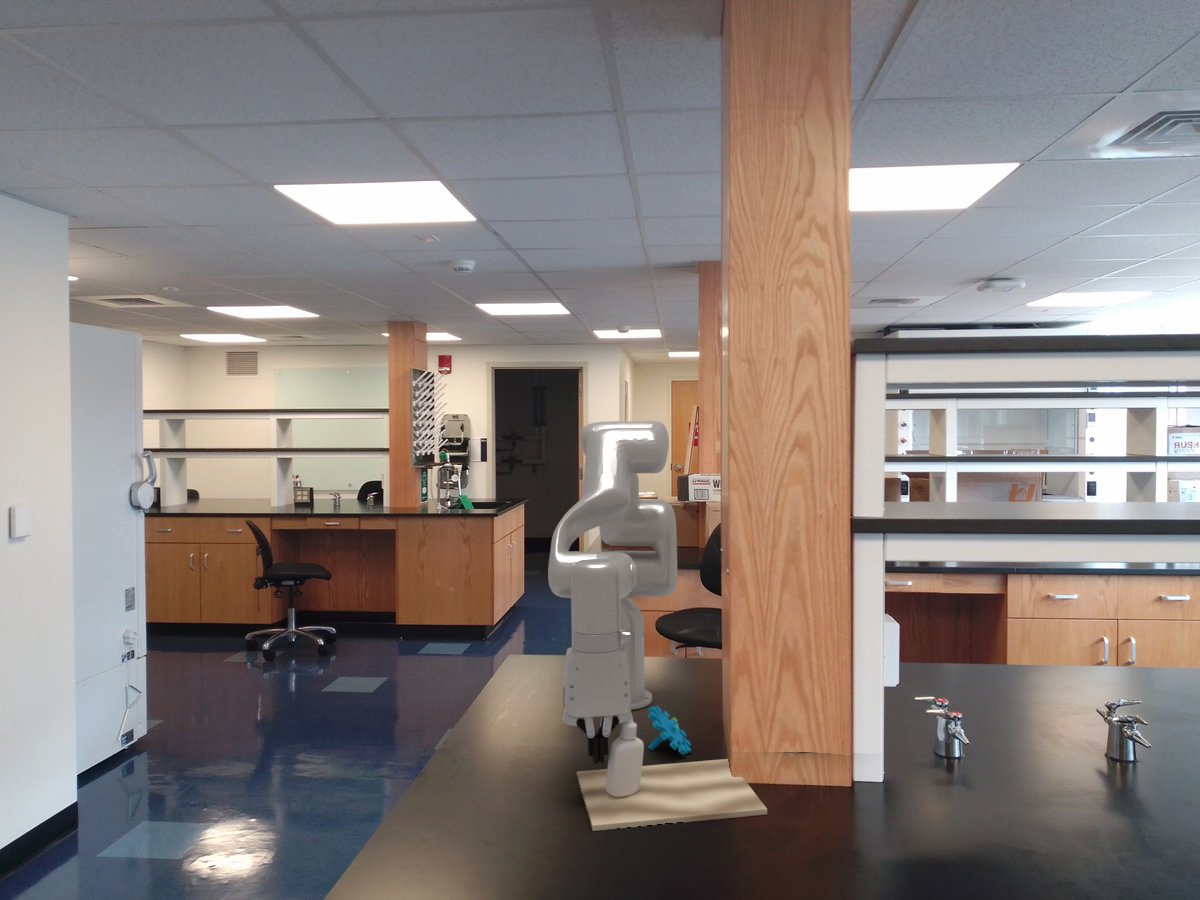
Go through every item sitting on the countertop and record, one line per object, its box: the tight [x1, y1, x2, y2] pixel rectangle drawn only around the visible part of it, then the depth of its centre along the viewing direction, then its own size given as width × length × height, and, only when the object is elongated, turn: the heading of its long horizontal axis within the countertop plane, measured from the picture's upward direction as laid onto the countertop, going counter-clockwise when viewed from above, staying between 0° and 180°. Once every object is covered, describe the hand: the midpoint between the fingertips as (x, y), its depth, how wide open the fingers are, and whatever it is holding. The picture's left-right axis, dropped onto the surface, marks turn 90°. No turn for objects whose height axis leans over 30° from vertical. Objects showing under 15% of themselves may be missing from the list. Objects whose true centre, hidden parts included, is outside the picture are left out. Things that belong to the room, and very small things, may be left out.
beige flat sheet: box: [576, 758, 768, 832], centre depth 122 cm, size 18×26×1 cm
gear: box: [648, 705, 692, 756], centre depth 139 cm, size 11×6×10 cm
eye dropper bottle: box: [606, 715, 645, 797], centre depth 121 cm, size 4×6×12 cm
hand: (597, 759), depth 120 cm, fingers closed
